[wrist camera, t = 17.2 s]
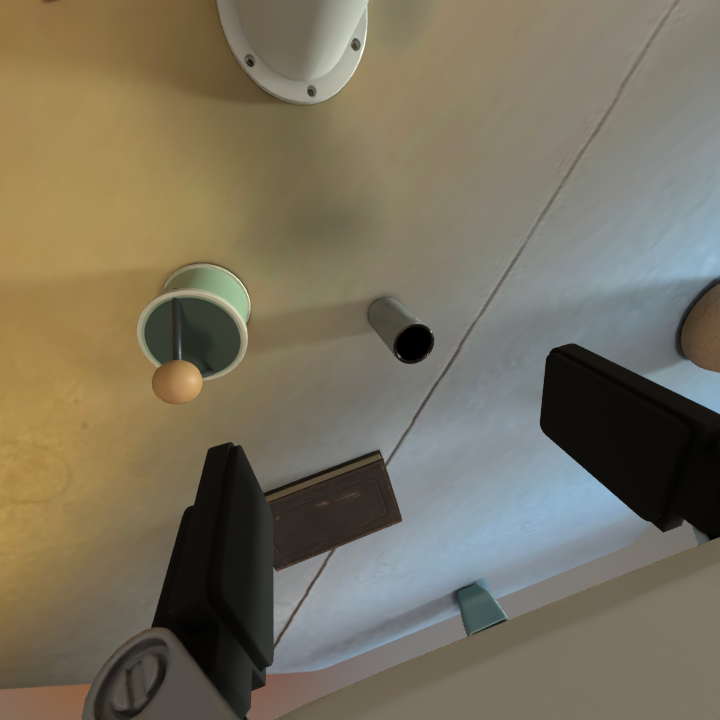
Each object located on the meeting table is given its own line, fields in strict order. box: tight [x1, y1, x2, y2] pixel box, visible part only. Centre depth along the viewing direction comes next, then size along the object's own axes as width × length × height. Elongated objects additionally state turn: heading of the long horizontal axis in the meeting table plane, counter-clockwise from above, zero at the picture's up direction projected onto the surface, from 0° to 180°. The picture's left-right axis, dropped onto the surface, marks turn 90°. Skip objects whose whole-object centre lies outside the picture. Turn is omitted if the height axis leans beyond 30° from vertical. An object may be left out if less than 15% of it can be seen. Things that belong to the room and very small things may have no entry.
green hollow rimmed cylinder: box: [137, 264, 250, 404], centre depth 30 cm, size 18×9×9 cm
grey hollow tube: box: [368, 297, 434, 364], centre depth 39 cm, size 4×4×10 cm
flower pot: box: [458, 583, 508, 636], centre depth 75 cm, size 9×9×9 cm
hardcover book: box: [264, 450, 403, 571], centre depth 55 cm, size 16×23×2 cm
